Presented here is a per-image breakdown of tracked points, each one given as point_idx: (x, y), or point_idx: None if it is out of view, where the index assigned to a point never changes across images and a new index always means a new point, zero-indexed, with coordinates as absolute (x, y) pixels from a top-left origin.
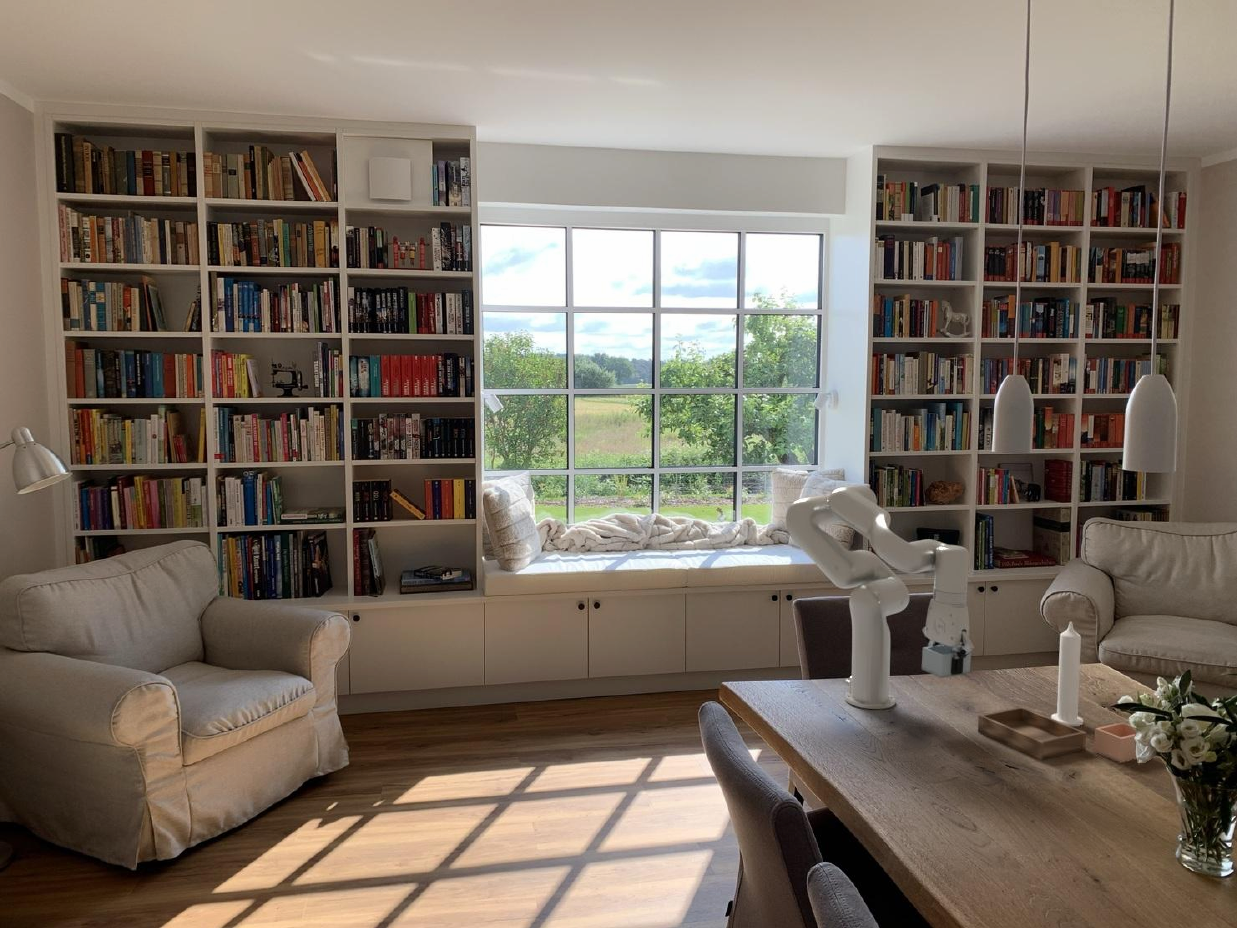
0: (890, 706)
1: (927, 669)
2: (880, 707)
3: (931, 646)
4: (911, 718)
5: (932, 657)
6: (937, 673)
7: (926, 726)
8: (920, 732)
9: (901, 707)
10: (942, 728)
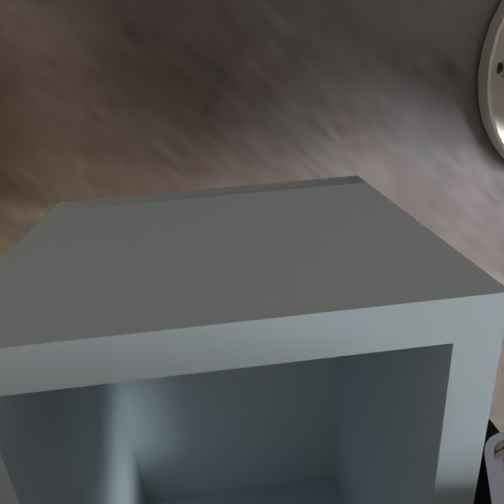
0: (479, 101)
1: (272, 189)
2: (491, 31)
3: (469, 463)
4: (328, 112)
5: (207, 268)
6: (109, 206)
7: (216, 114)
8: (155, 26)
9: (455, 159)
10: (170, 172)
